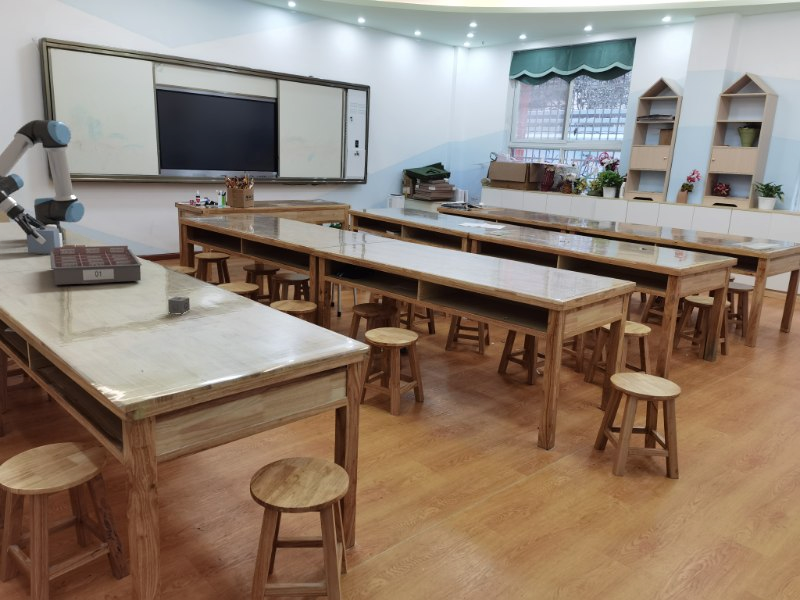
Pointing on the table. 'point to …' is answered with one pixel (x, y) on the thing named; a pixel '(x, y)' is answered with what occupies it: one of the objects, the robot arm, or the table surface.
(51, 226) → the medicine bottle
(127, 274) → the organizer tray
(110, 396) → the table surface
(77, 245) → the cube
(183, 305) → the dice cube
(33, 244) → the cover
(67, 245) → the cube
